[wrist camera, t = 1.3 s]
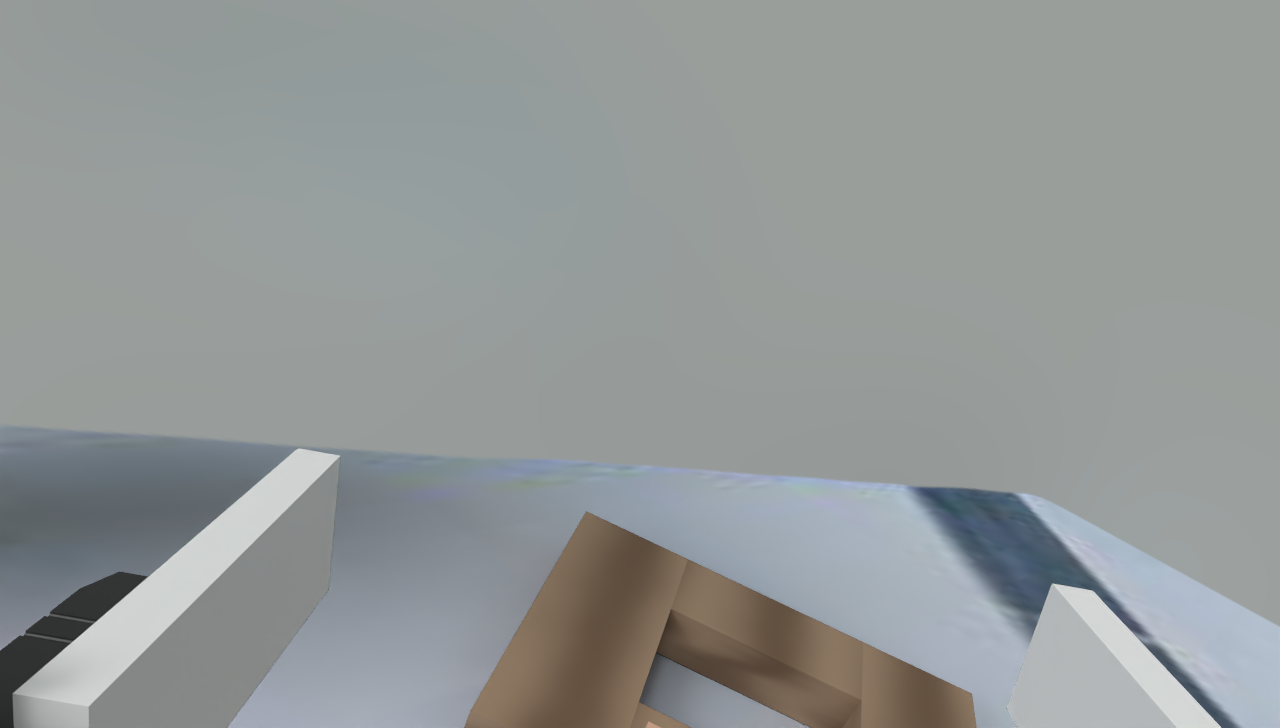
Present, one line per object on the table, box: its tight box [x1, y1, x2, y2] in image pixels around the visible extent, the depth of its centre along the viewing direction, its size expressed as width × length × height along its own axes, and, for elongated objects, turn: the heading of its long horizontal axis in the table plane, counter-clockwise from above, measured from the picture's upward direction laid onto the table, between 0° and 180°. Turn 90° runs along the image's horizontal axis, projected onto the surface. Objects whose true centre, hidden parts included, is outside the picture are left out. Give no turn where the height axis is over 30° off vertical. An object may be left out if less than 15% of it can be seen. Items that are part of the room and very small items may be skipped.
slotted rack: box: [464, 512, 976, 728], centre depth 37 cm, size 22×14×3 cm, turn 75°
